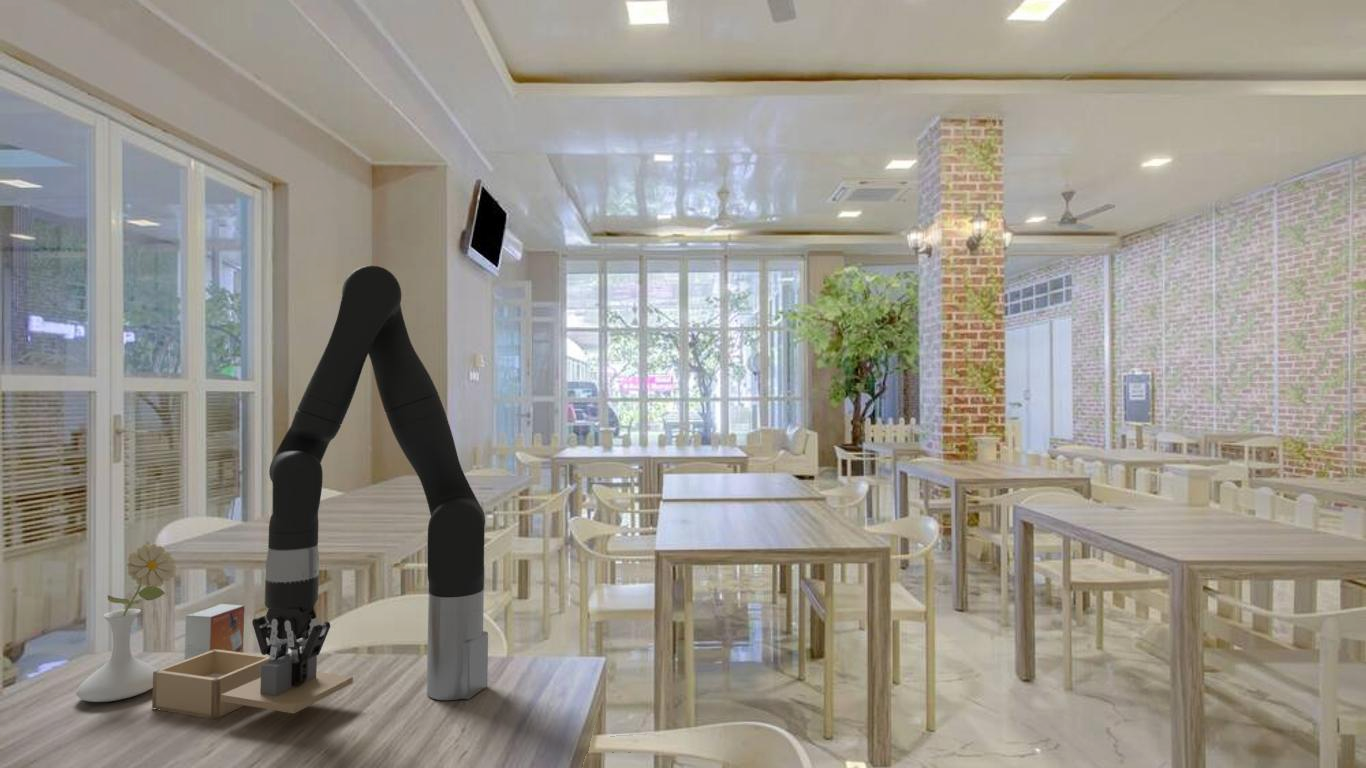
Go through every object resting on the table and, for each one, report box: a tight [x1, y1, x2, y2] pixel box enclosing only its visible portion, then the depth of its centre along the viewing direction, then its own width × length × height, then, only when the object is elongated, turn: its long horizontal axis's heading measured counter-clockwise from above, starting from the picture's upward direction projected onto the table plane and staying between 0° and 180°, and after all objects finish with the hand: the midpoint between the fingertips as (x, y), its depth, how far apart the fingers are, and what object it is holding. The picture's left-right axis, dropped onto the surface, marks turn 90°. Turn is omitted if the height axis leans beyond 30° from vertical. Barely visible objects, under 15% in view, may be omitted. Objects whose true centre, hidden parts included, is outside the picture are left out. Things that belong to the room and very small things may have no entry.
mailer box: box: [151, 649, 272, 720], centre depth 118 cm, size 13×11×6 cm
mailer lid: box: [221, 648, 354, 714], centre depth 112 cm, size 14×12×6 cm
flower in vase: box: [75, 543, 177, 703], centre depth 121 cm, size 13×11×25 cm
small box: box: [184, 603, 245, 660], centre depth 133 cm, size 8×6×10 cm
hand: (289, 682), depth 112 cm, fingers closed on mailer lid, 3 cm apart
